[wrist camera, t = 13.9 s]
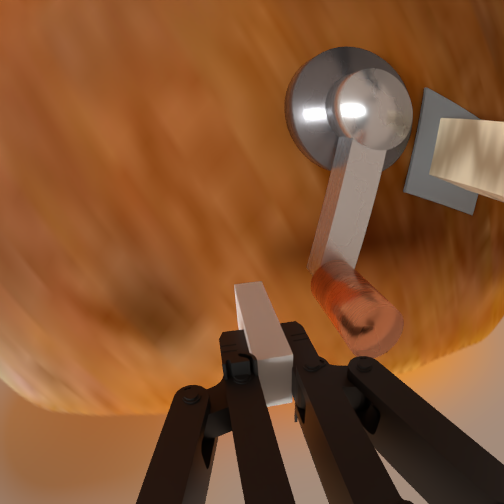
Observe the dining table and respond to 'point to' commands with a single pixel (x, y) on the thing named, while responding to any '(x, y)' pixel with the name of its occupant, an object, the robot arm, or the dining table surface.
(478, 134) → the block
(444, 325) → the dining table surface
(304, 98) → the crank base
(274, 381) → the robot arm
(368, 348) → the crank
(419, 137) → the pad
